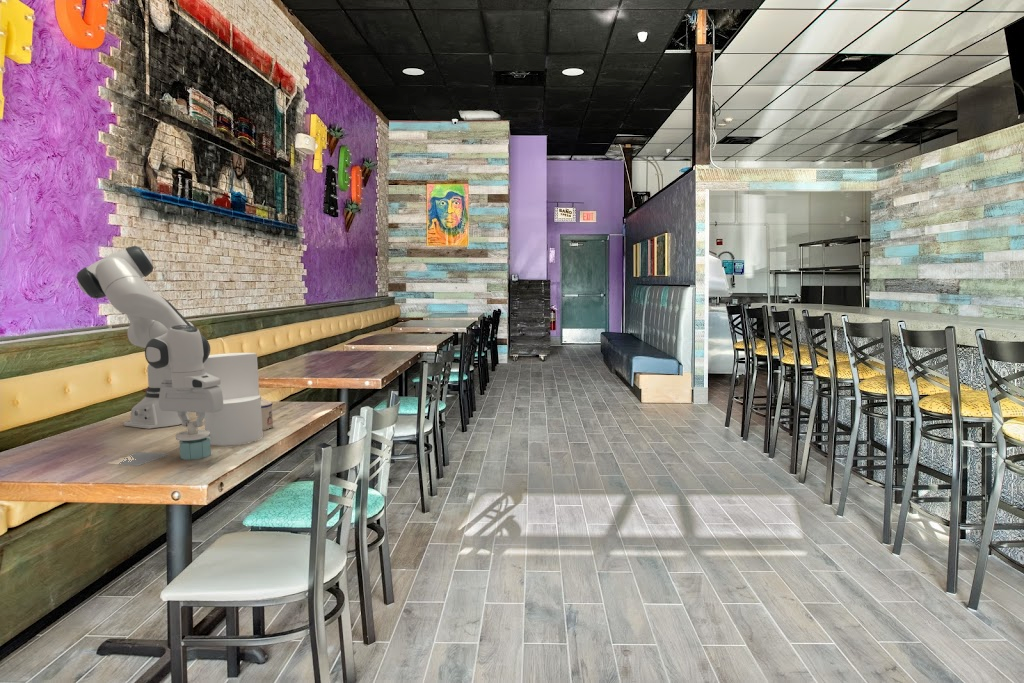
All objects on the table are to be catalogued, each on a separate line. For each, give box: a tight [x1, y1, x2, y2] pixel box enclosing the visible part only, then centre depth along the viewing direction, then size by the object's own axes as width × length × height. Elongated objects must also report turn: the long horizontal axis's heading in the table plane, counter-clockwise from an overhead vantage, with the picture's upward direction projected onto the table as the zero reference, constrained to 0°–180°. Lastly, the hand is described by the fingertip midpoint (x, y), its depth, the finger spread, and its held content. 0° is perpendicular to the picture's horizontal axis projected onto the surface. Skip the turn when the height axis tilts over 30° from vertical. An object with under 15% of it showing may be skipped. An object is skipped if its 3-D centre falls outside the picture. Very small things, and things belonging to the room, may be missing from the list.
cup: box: [178, 437, 212, 461], centre depth 183 cm, size 8×8×5 cm
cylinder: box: [203, 352, 264, 447], centre depth 202 cm, size 17×17×28 cm
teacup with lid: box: [261, 398, 274, 431], centre depth 219 cm, size 12×9×12 cm
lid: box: [175, 421, 210, 441], centre depth 182 cm, size 9×9×4 cm
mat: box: [118, 451, 171, 467], centre depth 181 cm, size 12×12×1 cm
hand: (192, 426), depth 181 cm, fingers open, 3 cm apart
